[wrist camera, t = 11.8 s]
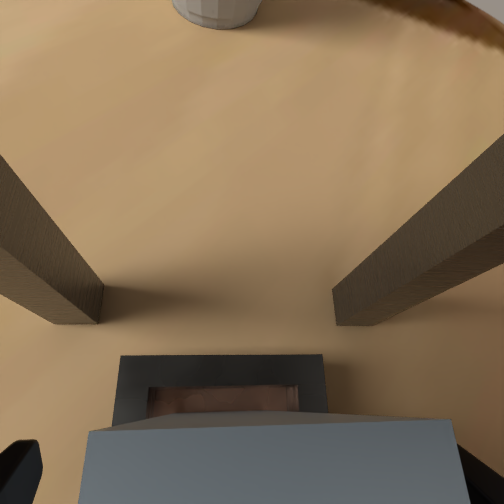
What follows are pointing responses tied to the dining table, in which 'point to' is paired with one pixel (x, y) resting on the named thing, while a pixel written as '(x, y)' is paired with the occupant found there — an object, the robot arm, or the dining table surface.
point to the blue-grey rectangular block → (274, 460)
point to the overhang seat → (259, 366)
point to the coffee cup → (217, 12)
